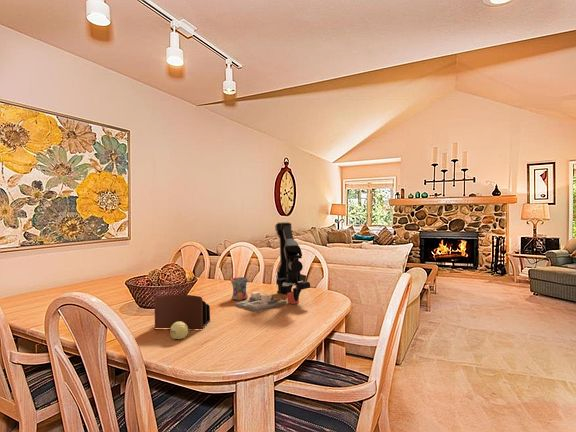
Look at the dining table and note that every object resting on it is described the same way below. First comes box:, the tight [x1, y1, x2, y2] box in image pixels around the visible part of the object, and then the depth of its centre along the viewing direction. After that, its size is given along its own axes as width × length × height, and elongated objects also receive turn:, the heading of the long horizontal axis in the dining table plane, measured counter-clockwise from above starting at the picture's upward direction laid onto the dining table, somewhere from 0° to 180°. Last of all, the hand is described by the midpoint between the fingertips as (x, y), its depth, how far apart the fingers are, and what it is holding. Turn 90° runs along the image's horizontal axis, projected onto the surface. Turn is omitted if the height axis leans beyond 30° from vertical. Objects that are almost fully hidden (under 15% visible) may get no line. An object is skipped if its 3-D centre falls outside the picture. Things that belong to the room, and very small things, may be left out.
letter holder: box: [153, 294, 211, 330], centre depth 138 cm, size 10×20×14 cm, turn 85°
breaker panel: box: [235, 294, 288, 313], centre depth 167 cm, size 19×17×3 cm
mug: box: [230, 276, 249, 301], centre depth 180 cm, size 12×9×11 cm
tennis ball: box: [169, 321, 189, 340], centre depth 125 cm, size 6×7×7 cm
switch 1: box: [250, 291, 261, 301], centre depth 171 cm, size 3×4×4 cm
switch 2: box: [260, 293, 272, 303], centre depth 165 cm, size 3×4×4 cm
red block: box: [286, 290, 300, 305], centre depth 168 cm, size 4×4×5 cm
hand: (293, 300), depth 168 cm, fingers closed on red block, 4 cm apart
